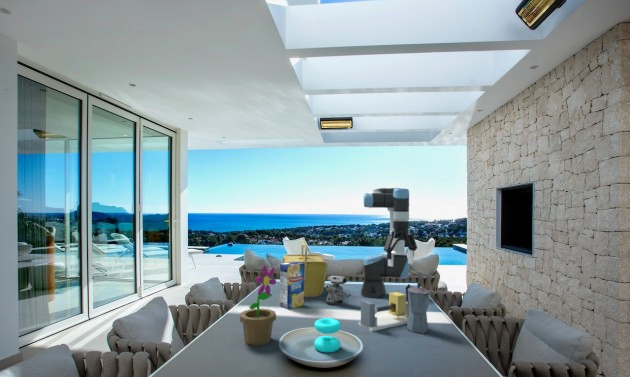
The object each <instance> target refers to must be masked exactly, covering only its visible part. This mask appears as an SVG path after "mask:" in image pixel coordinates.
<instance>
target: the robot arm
mask: <svg viewBox="0 0 630 377" xmlns="http://www.w3.org/2000/svg"><path fill="white" fill-rule="evenodd" d="M363 206H364V208H368V209H371V208H372V209H373V208H377V209H380V208H381V209H382V208H383V209H384V208H385V209H387V211H388V212H389V231H388V236H387V239H386V242H385V245H384V246H383V251H384V252H385V253H386V257H385V256H384V255H383V254H372V255H371V254H370V255H367V256H365V257H364V259H363V282H362V286H361V288H360V295H361V296H362V297H367V298H370V299H371V298H374V299H377V298H385V297H387V289H386V285H385V283H384V282H385V280H384V278H388V279H389V278H390V279H391V278H392V279H407V278H408V277H409V273H410V267H411V265H414V257H415V251H416V250H418V246H417V243H416V239H415V237H414V232H413V230H410V221H409V220H410V190H409V189H408V188H401V187H398V188H397V187H396V188H395V187H394V188H393V187H389V188H388V187H381V188H376V189H373V190H371V191H369V192H365V193H364V194H363ZM405 245H406V246H407V248H408V250H407V253H406V252H405V251H406V250H405Z"/></svg>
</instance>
